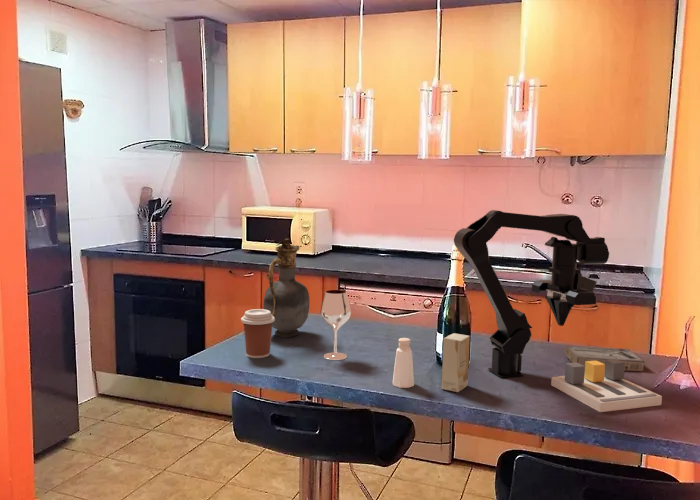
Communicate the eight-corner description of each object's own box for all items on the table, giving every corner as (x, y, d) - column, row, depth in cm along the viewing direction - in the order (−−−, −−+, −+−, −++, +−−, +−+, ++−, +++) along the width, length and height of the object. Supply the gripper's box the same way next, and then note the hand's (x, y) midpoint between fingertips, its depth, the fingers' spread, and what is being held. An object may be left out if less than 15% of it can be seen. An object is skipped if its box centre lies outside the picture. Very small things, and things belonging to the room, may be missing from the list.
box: (563, 355, 165) (564, 344, 165) (627, 359, 164) (629, 348, 164) (576, 369, 155) (577, 357, 154) (644, 372, 154) (645, 361, 153)
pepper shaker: (417, 382, 143) (419, 337, 142) (410, 389, 138) (411, 343, 137) (396, 379, 145) (397, 334, 144) (388, 386, 140) (389, 340, 139)
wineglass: (315, 359, 160) (315, 293, 158) (327, 351, 168) (328, 287, 166) (343, 362, 157) (344, 295, 155) (354, 354, 165) (355, 290, 163)
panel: (599, 412, 126) (601, 382, 125) (551, 385, 142) (552, 359, 141) (661, 404, 131) (663, 376, 130) (607, 379, 147) (609, 354, 146)
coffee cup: (265, 361, 158) (265, 316, 156) (235, 357, 161) (234, 313, 159) (280, 351, 166) (280, 309, 165) (251, 348, 169) (250, 307, 168)
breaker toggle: (593, 382, 138) (594, 365, 137) (584, 377, 140) (585, 361, 140) (603, 381, 138) (605, 364, 138) (595, 376, 141) (596, 360, 141)
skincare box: (458, 393, 136) (460, 341, 135) (440, 389, 138) (442, 338, 137) (468, 385, 142) (470, 335, 140) (451, 381, 144) (453, 332, 142)
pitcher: (313, 330, 191) (313, 236, 187) (286, 345, 173) (286, 242, 169) (282, 326, 194) (282, 235, 191) (253, 341, 176) (252, 240, 173)
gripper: (617, 269, 143) (613, 332, 144) (568, 258, 160) (565, 315, 162) (577, 270, 139) (574, 335, 141) (532, 259, 157) (529, 317, 159)
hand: (560, 325), depth 151 cm, fingers closed
